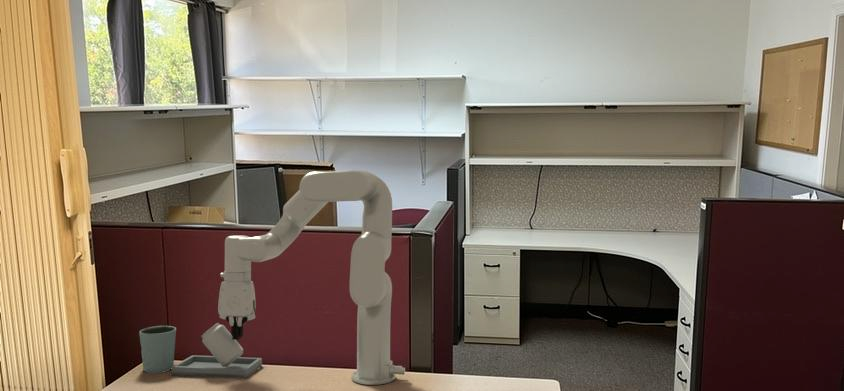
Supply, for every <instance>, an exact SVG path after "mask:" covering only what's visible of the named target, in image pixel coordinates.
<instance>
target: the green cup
mask: <svg viewBox="0 0 844 391" xmlns="http://www.w3.org/2000/svg"><path fill="white" fill-rule="evenodd" d="M176 332H177V327H175V326H172V325H156V326H155V325H154V326H149V327H145V328H142V329H140V330H139V332H138V333H139V334H138V335H139V342H140V343H139V344H140V347H141V351H140V352H141V358H142V371H143V370H144V371H145V372H144V371H143V372H144V373H146V372H148V373H147V374H159V372H161V373H164V372H163V371H166V372H168V371H167V370H169V369H171V368H172V366H174V365H175V348H176V346H175V345H176V334H177V333H176Z"/></svg>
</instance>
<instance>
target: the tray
mask: <svg viewBox="0 0 844 391" xmlns="http://www.w3.org/2000/svg"><path fill="white" fill-rule="evenodd" d="M261 365H262V366H263V358H262V357H244V356H243V357H241V356H240V357H238V358H237V359H236V360H235V361H233V362H232V363H231V364H230V365H229V366H227V367H222V365H221V364H220V363H219V362H218V360H217V359H216V358H215V357H214V356H213V355H191V356H189V357H186V358H185V359H183V360H181V361H180V362H177V363H176V364H174V366H172V370H171V376H176V377H198V378H199V377H202V378H217V379H218V378H219V379H221V378H222V379H241V380H243V379H244V380H246V379H248V377H250V376H251V375H253V374H254V373H255V372H256V371H258V370H259V369H260V368H261V367H260V366H261ZM259 367H260V368H259ZM258 368H259V369H258ZM257 369H258V370H257Z"/></svg>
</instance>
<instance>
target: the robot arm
mask: <svg viewBox="0 0 844 391" xmlns="http://www.w3.org/2000/svg"><path fill="white" fill-rule="evenodd" d="M359 201H362V202H363V211H362V212H363V213H362V222H361V224H362V225H361V235H360V236H359V237H357V238H356V239H355V241H354V243H353V244H352V249H351V252H350V268H349V269H350V272H349V294H350V298H351V299H352V301H353V302H354V304H355V305H357V316H356V317H357V324H356V334H357V335H356V370H355V371H354V372H352V373H351V380H352V381H353V382H355V383H356V384H360V385H368V386H369V385H370V386H374V385H376V386H378V385H384V384H389V383H391V382H393V381H394V380H396V375H404V376H405V375H406V367H403V366H402V365H394V364H393V360H391V314H392V313H391V308H392V299H393V298H392V296H393V283H392V279H391V277H390V276H389V274H388V273H387V272H386V271H385V267H386V261H387V260H388V259H389V258H390V256H391V254H392V231H393V199H392V193H391V191H390V188H389V187H388V186H387V184H386V183H385V181H384V180H383V179H381V178H380V177H379V176H377V175H375V173H374V174H373V173H371V172H369V171H365V170H357V169H356V170H350V169H349V170H337V171H336V170H334V171H333V170H331V171H310V172H308V173H307V174H305V175H304V176H303V177H302V179H301V180H300V182H299V189H298V190H297V192H296V193H295V194H294V195H293V196H292V197H291V198H290V199H289V200H288V201H287V202H285V204H284V205H283V208H282V216H281V218H280V219H279V221H278V222H277V223H276V224H275V225H274V226H273V227H272V228H271V229H270V230H269V232H267V233H266V234H262V235H257V236H252V237H251V236H248V235H243V234H242V235H234V234H233V235H229V236H227V237H226V238H225V240H224V271H223V272H221V273H220V274H219V275H220V278H223V280H224V281H222V282H221V283H220V287H219V294H218V305H217V306H218V307H217V311H218V312H217V313H218V315H219V318H220V319H222V320H226V322H228V324H229V326H230V328H231V330H230V334H231V336H232V339H233V340H236V341H238V340H240V339H242V338H243V335H244V325H245V324H246V322H248V321H252V320H254V319H256V314H255V313H256V308H257V307H256V306H257V302H256V291H255V285H254V281H252V262H253V263H262V262H265V261H269V260H272V259H274V258H275V259H276V258H277V257H279V256H280V255H281V254H283V252H285V250H286V249H287V248H289V247H290V245H292V243H293V242H294V241H295V240H296V239H297V238H298V236H299V235H300V233H301V232H302V231H304V229H305V227H306V225H307V224H308V223H309V222H310V221H311V220H312V219H313V218H315V216H316V215H317V214H318V213H319V212H321V211H322V209H323V208H324V207H325V206H326V205H327V204H328V203H330V202H331V203H334V202H359Z"/></svg>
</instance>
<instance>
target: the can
mask: <svg viewBox="0 0 844 391" xmlns="http://www.w3.org/2000/svg"><path fill="white" fill-rule="evenodd" d="M200 338H202V341H201V342H202V343H203V345H204V346H205V347H206V348H207V350H208V351H209V352H210V353H211V355H212V356H214V357H215V358H216V359H217V360H218V362H219V363H220V364H221V365H222V367H227V366H229V365H230V364H231V363H232V362H233V361H235V360H236V359H237V358H238V357H241V356H242V355H243V354H244V348H243V347H242V345H241V344H240V343H239V342H238V340H236V339H235V340H233V339H232V336H231V331H229V330H228V329H227V328H226V326H225V325H224V324H220V323H219V322H217V323H215V324H214V325H213V326H211V327H210V328H209V329H208V330H206V331H205V332H204V333H203V334H202V335H201V336H200Z"/></svg>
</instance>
